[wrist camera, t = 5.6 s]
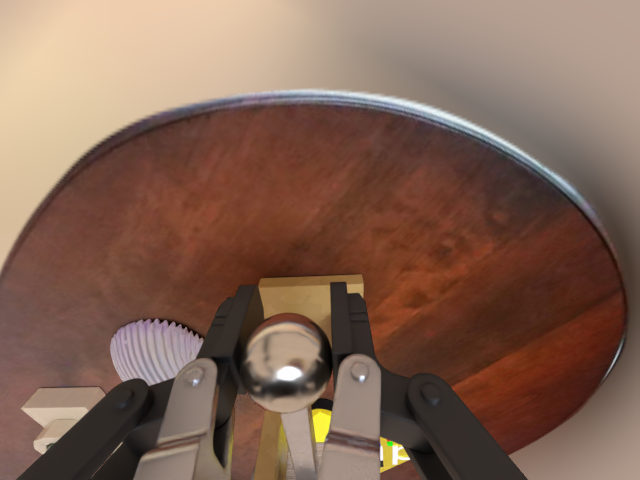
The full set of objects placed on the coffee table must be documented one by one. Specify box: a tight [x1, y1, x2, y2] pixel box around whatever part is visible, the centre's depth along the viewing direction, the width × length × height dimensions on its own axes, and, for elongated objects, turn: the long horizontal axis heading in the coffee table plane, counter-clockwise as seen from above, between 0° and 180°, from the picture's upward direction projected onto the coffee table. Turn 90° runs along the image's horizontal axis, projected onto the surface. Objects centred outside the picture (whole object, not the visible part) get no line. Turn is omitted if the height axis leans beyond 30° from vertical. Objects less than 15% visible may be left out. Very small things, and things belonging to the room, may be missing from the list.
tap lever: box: [240, 312, 333, 480], centre depth 12 cm, size 13×3×3 cm, turn 3°
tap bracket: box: [251, 274, 364, 480], centre depth 18 cm, size 10×8×13 cm
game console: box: [311, 399, 410, 473], centre depth 35 cm, size 18×11×2 cm, turn 56°
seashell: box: [110, 318, 204, 386], centre depth 25 cm, size 10×6×10 cm
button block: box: [21, 387, 123, 454], centre depth 31 cm, size 11×7×4 cm, turn 3°
